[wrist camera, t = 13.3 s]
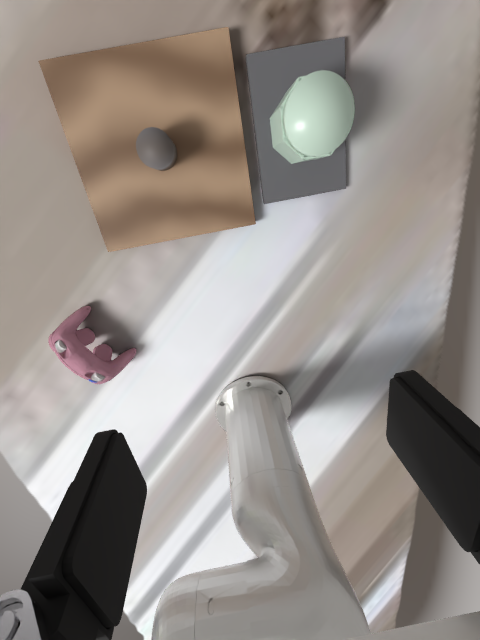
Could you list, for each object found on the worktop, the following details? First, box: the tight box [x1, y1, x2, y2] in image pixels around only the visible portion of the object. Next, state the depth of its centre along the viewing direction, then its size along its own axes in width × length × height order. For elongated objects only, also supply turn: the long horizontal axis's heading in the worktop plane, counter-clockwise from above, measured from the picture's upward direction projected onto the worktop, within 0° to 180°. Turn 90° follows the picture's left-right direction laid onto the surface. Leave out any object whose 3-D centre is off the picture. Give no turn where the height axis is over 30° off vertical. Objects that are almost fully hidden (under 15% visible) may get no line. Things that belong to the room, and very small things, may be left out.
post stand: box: [39, 27, 256, 252], centre depth 30 cm, size 18×18×6 cm
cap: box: [270, 70, 355, 164], centre depth 29 cm, size 7×7×6 cm
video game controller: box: [49, 306, 136, 384], centre depth 39 cm, size 10×5×7 cm, turn 36°
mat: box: [246, 37, 346, 204], centre depth 32 cm, size 14×10×1 cm
